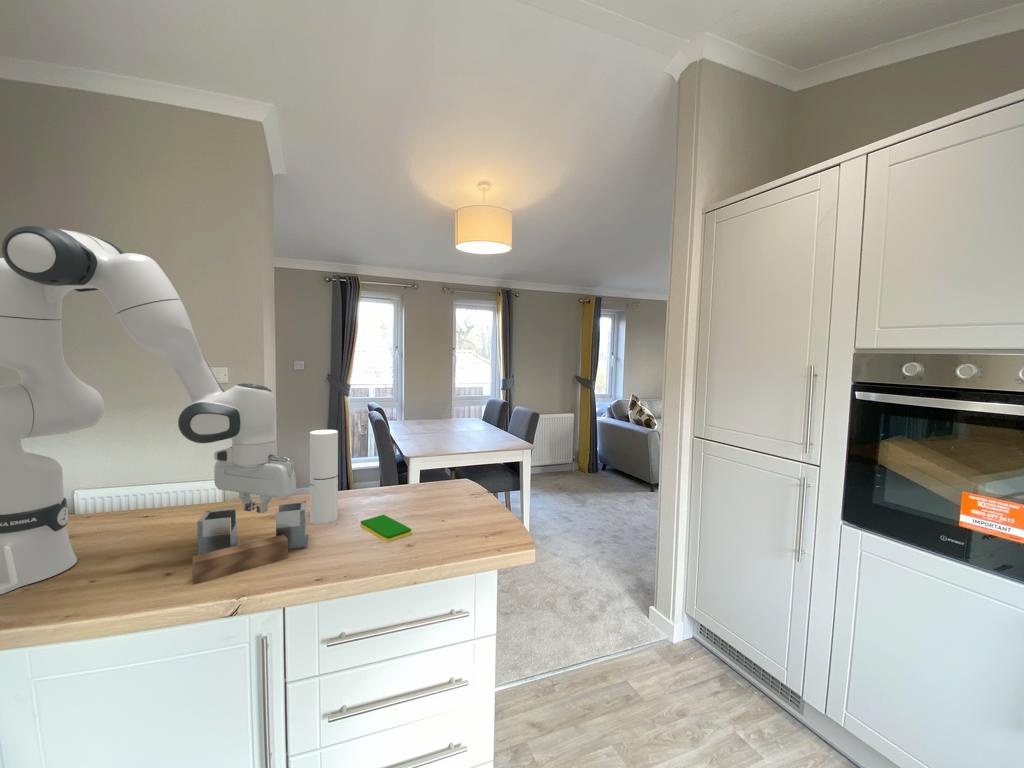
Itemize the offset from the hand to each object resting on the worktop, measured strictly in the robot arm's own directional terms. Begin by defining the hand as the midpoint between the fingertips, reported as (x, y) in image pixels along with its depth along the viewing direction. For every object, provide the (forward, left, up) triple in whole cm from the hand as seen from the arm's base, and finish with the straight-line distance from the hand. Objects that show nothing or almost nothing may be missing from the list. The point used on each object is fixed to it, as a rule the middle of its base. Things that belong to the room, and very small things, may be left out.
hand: (255, 511), depth 99 cm
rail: (-1, -9, -10) cm, 13 cm away
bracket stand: (0, 0, -9) cm, 9 cm away
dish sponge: (+30, 0, -10) cm, 31 cm away
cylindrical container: (+15, +14, -10) cm, 23 cm away
